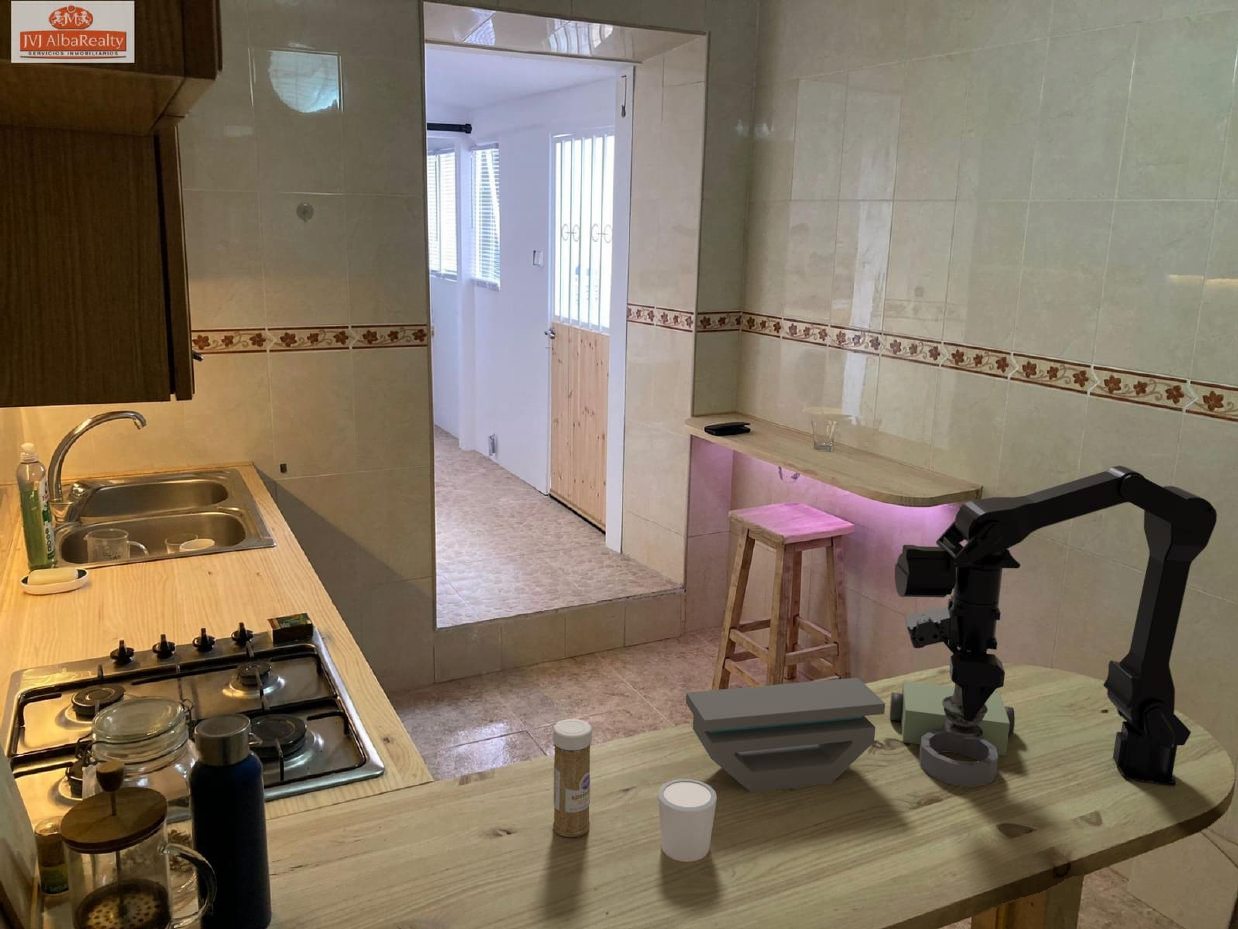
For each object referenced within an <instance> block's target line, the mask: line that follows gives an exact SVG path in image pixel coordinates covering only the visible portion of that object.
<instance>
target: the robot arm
mask: <svg viewBox="0 0 1238 929" xmlns="http://www.w3.org/2000/svg"><path fill="white" fill-rule="evenodd" d="M1125 503H1126V504H1127V503H1130V504H1132V505H1134V506H1136V507H1138V508H1140V509H1142V510H1143V511H1144V512H1143V513H1144V514H1143V530H1144V531H1143V532H1144V534H1145V535H1144V536H1145V539H1146V542H1147V547H1148V552H1149V554H1148V555H1149V556H1148V561H1147V566H1146V570H1145V573H1144V574H1145V575H1144V580H1143V585H1142V587H1141V588H1142V589H1141V595H1140V597H1139V598H1140V599H1139V603H1138V604H1139V605H1138V608H1137V612H1136V617H1135V624H1134V628H1133V634H1132V638H1131V642H1130V646H1129V650H1128V652H1127V654H1126V655H1125V656H1124V657H1123V658H1122V659H1121V661H1116V660H1113V659H1112V660H1110V661H1109V662H1108V673H1107V678H1106V680H1105V682H1104V683H1103V684H1102V685H1103V687H1104V688H1106V690H1107V691H1106V692H1107V693H1106V695H1107V698H1108V699H1109V701H1110V702H1111V703H1112V704H1113V706H1114V707H1115V708H1116V711H1117V714H1118V716H1120V717H1121V718H1123V719H1124V720H1123V721H1122V723H1121V729H1120V731H1116V735H1115V741H1114V747H1113V748H1114V749H1113V754H1112V759H1113V761H1114V763H1115V765H1116V766H1117V768H1118V769H1119V771H1120V773H1121V775H1122V777H1123V778H1124V779H1127V780H1132V781H1140V782H1148V783H1155V784H1160V785H1161V784H1163V785H1168V786H1176V785H1177V779H1176V778H1175V776H1174V775H1173V774H1174V768H1175V761H1176V757H1177V750H1178V746H1185V745H1186V743H1187V741H1188V739H1189V738H1190V735H1191V734H1192V732H1191V730H1190V729H1189V728H1188V727H1187V726H1186V725H1185V724H1184V722H1182V720H1180V719H1179V717H1178V716H1177V715H1176V714H1175V709H1176V708H1175V706H1176V688H1175V684H1174V681H1173V680H1174V679H1173V676H1172V672H1171V671H1172V670H1171V666H1170V663H1171V657H1172V653H1173V648H1174V645H1175V644H1174V643H1175V639H1176V634H1177V629H1178V626H1179V625H1178V624H1179V620H1180V616H1181V612H1182V611H1181V610H1182V608H1183V607H1182V606H1183V604H1184V603H1183V602H1184V598H1185V592H1186V589H1187V583H1188V579H1189V578H1188V577H1189V574H1190V570H1191V565H1192V563H1193V561H1194V560H1195V559H1196V558H1197V557H1198V556H1199V555H1200V554H1201V553H1202V552H1203V551H1204V550H1205V549H1206V547H1207V546H1208V544H1209V542H1210V540H1211V537H1212V534H1213V532H1214V530H1215V528H1216V525H1217V520H1218V513H1217V510H1216V508H1214V506H1213V505H1212V503H1211V502H1210V501H1208V500H1207V499H1205V498H1203V497H1201V496H1199V495H1197V494H1194V493H1193V492H1189V491H1188V490H1185V489H1183V488H1181V487H1178V486H1174V485H1166V486H1165V485H1164V486H1162V485H1159V484H1157V483H1155V482H1153V481H1151V480H1150V479H1149V478H1148V479H1147V478H1146V477H1145V476H1144V475H1143V474H1141V473H1140V472H1138V471H1135V470H1133V469H1131V468H1129V467H1126V466H1123V465H1115V466H1112V467H1110V468H1108V469H1106V470H1105V471H1101V472H1097V473H1095V474H1091V475H1088V476H1085V477H1081V478H1078V479H1074V480H1072V481H1068V482H1065V483H1062V484H1058V485H1055V486H1052V487H1049V488H1046V489H1042V490H1039V491H1036V492H1033V493H1029V494H1026V495H1022V496H1013V497H1012V496H1008V497H1007V496H1005V497H1004V496H994V497H988V498H979V499H972V500H970V501H967V502H965V503H963V504H962V505H961V506H960V507H959V510H958V511H957V513H956V515H955V519H954V521H952V523H951V524H950V525H949V526H948V528H946V530H945V531H944V532H943V533H942V535H940V537H939V538H938V539H937V540H936V541H935V543H936V545H937V546H919V545H914V544H904V545H902V551H901V553H900V554H899V556H898V558H897V562H896V563H895V564H894V583H895V588H896V592H897V594H898V596H899V597H900V598H935V599H936V598H937V599H938V598H945V597H947V596H949V595H951V596H950V598H948V600H947V607H941V608H932V609H927V610H922V611H920V612H914V613H910V614H907V615H906V616H905V624H906V628H907V632H908V634H909V638H910V641H911V645H912V648H914V649H922V648H925V647H926V646H931V645H934V644H935V645H936V644H938V643H939V644H940V643H943V644H944V645H945V646H946V648H948V650H949V651H950V652H951V653H952V655H950V657H949V658H950V659H949V675H950V677H949V678H950V679H951V681H952V682H953V683H954V684H955V683H956V684H957V685H958V686H959V687H960V688H961V698H962V709H963V718H964V720H965V721H973V720H974V718H975V717H976V715H977V714H978V713H979V711H980V710H981V708H982V707H983V705H984V704H985V703H986V701H987V700H988V699H989V697H990V696H991V695H992V694H993V692H996V690H997V689H1000V688H1002V687H1005V686H1004V685H1005V684H1004V683H1005V677H1006V676H1005V674H1006V671H1005V668H1004V665H1003V663H1002V661H1001V659H999V657H998V656H997V655H996V654H994V653H988V650H997V649H998V641H997V638H996V631H997V625H998V624H997V622H998V621H1000V620H1001V610H1000V608H999V605H1000V604H999V603H1000V596H1001V588H1002V578H1003V577H1002V576H1003V570H1004V569H1019V568H1020V567H1021V563H1020V562H1019V561H1017V560H1016V559H1015V557H1014V556H1013V555H1012V554H1011V552H1010V550H1009V549H1010V548H1012V547H1014V546H1017V545H1018V544H1020V543H1022V542H1024V540H1025V539H1026V538H1028V537H1029V536H1031V534H1033V533H1034V532H1036V531H1038V530H1040V529H1042V528H1046V527H1049V526H1053V525H1055V524H1060V523H1062V522H1066V521H1069V520H1072V519H1076V518H1079V517H1082V516H1085V515H1089V514H1093V513H1096V512H1098V511H1101V510H1105V509H1109V508H1111V507H1115V506H1119V505H1121V504H1125ZM963 541H965V542H966V544H964V545H962V544H961V543H962V542H963ZM952 592H953V593H952Z"/></svg>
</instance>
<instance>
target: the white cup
mask: <svg viewBox="0 0 1238 929" xmlns="http://www.w3.org/2000/svg"><path fill="white" fill-rule="evenodd" d="M657 795H658V810H659V811H658V812H659V826H660V827H659V828H660V829H659V830H660V840H661V842H660V843H661V850H662V851H663V853H664V854H665V855H666V856H667V857H668V858H670V859H672V860H675V861H679V862H683V863H684V862H688V863H689V862H696V861H700V860H701V859H703V858H705V857H706V856H707V855H708V853H709V851H710V844H711V839H712V832H713V825H714V818H715V813H716V808H717V807H716V806H717V799H718V797H717V793H716V790H714V789H713V787H712V786H711V785H709V784H707V783H705V782H703V781H701V780H697V779H691V778H677V779H674V780H669V781H667V782H665V783H664V784H661V786H660V788H659V789H658V791H657Z"/></svg>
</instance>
